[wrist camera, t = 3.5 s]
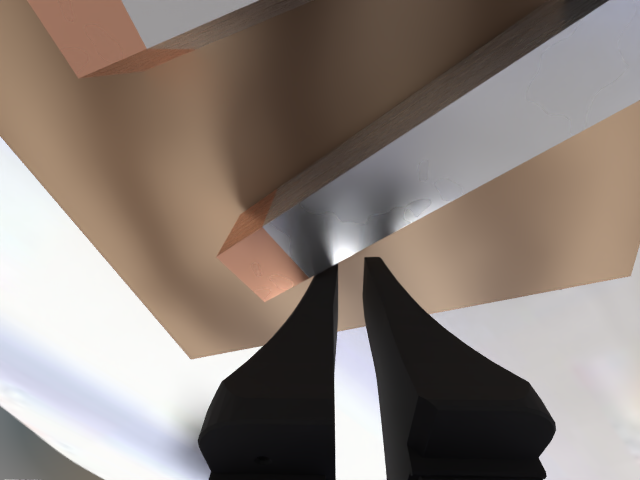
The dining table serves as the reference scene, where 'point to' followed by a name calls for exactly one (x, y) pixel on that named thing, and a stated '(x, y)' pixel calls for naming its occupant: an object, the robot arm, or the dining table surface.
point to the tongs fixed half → (145, 29)
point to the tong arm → (445, 141)
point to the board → (303, 163)
